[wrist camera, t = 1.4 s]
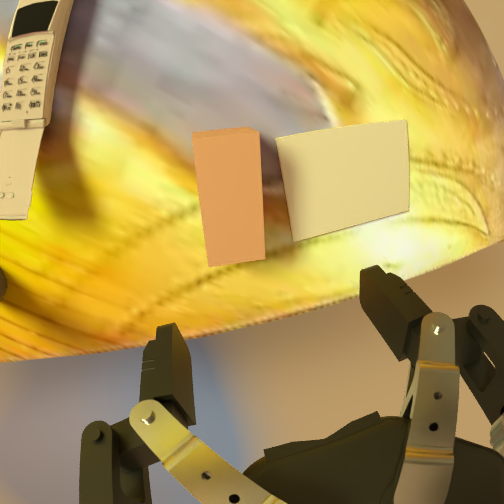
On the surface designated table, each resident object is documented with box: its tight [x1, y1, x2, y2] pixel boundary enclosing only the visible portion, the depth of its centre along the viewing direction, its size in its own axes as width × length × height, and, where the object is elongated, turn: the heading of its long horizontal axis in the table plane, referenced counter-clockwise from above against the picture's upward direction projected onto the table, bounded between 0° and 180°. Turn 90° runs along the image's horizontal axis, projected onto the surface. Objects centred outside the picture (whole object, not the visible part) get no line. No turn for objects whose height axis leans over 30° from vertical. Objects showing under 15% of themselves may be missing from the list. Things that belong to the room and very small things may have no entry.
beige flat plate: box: [275, 119, 409, 242], centre depth 29 cm, size 11×15×1 cm
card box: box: [192, 127, 265, 267], centre depth 26 cm, size 11×5×5 cm, turn 3°
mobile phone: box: [0, 0, 74, 220], centre depth 16 cm, size 6×6×25 cm
